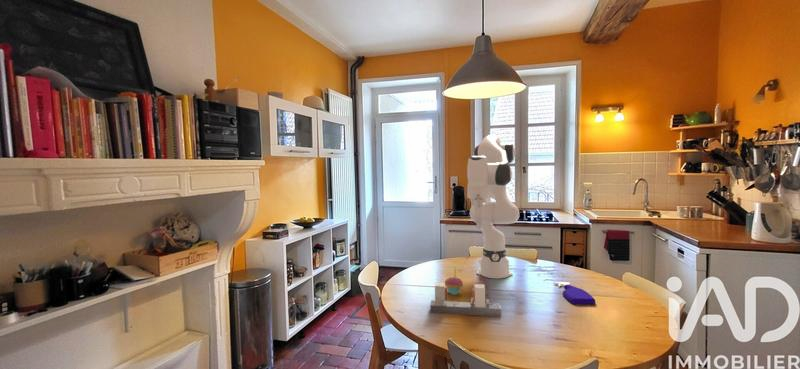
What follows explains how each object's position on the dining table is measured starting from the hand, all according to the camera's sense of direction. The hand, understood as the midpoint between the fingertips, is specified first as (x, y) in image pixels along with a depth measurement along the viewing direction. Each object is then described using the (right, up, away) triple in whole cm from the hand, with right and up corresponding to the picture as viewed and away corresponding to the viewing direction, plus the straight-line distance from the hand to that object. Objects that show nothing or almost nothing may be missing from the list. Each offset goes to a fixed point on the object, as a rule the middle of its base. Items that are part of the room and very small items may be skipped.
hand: (478, 226), depth 144 cm
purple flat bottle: (+46, -33, +10) cm, 57 cm away
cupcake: (-8, -34, +15) cm, 38 cm away
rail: (-7, -35, -6) cm, 36 cm away
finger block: (-1, -31, -7) cm, 32 cm away
